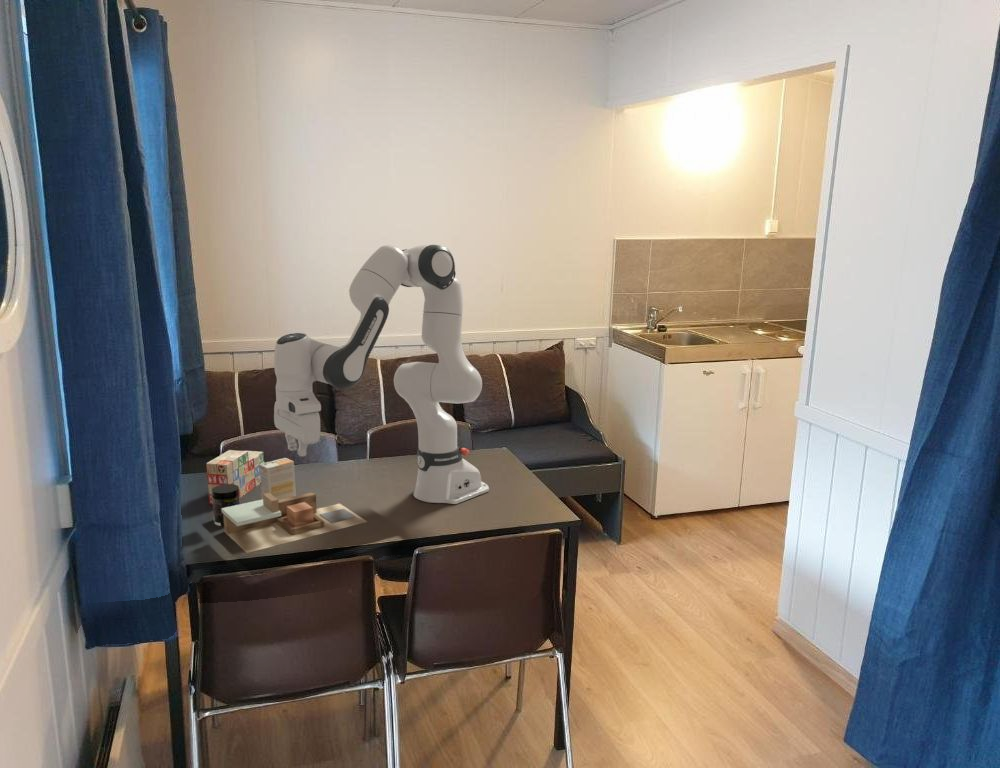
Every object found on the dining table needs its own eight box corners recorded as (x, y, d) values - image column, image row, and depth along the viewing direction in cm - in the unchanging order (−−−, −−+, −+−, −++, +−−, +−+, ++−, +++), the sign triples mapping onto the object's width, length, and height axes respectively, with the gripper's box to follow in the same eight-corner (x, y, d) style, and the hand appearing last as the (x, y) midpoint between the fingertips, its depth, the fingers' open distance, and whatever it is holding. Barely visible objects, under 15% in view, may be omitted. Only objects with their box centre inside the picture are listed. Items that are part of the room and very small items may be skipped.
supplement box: (288, 501, 221) (285, 457, 219) (296, 505, 218) (294, 461, 215) (261, 508, 216) (258, 463, 213) (269, 513, 212) (267, 467, 210)
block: (305, 520, 204) (304, 502, 203) (313, 526, 200) (313, 507, 199) (287, 524, 201) (286, 506, 200) (295, 530, 197) (294, 512, 196)
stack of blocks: (246, 479, 239) (244, 440, 236) (265, 480, 238) (263, 442, 235) (208, 504, 219) (205, 462, 216) (229, 506, 217) (226, 464, 215)
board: (339, 508, 216) (338, 485, 215) (367, 527, 204) (367, 502, 203) (224, 536, 197) (222, 511, 196) (247, 558, 185) (245, 532, 183)
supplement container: (247, 524, 205) (244, 486, 203) (228, 533, 199) (225, 494, 197) (227, 519, 208) (225, 482, 206) (208, 528, 202) (205, 490, 200)
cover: (264, 502, 201) (263, 487, 200) (281, 515, 193) (280, 500, 192) (221, 512, 194) (220, 497, 194) (237, 526, 186) (236, 510, 185)
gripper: (266, 393, 200) (269, 444, 203) (299, 409, 184) (302, 465, 187) (289, 389, 203) (292, 440, 206) (324, 405, 188) (326, 460, 191)
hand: (297, 452), depth 197 cm, fingers open, 4 cm apart
